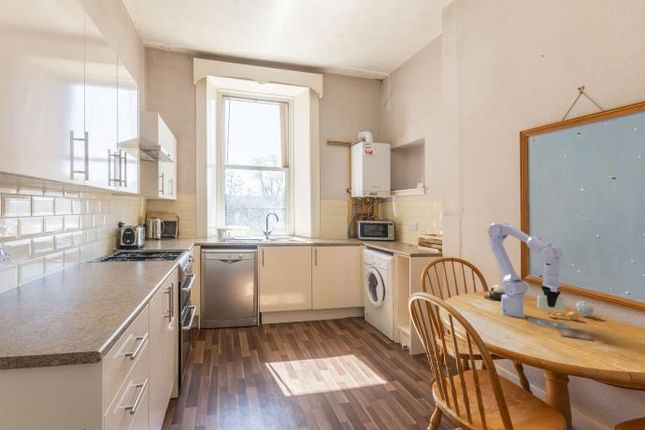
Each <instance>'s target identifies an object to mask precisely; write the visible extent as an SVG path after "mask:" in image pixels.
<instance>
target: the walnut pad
mask: <svg viewBox="0 0 645 430" xmlns="http://www.w3.org/2000/svg"><path fill="white" fill-rule="evenodd" d="M555 329H556V331H557V332H558V333H559V335H560V336H561V337H565V338H570V339H577V340H582V341H583V340H584V341H591V342H594V338H593V337H592V336H591V335H590V334H589V332H587V331H586V330H579V329H572V328H569V329H567V328H559V327H556V328H555Z"/></svg>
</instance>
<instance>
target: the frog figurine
mask: <svg viewBox="0 0 645 430" xmlns="http://www.w3.org/2000/svg"><path fill="white" fill-rule="evenodd" d="M575 306H576V307H575V308H576V309H577V311H578V312H577V313H578V314H579V316H581V317H583V318H589V317H590V316H592V313H594V308H593V307H592V306H591V305H590V304H588V303H587V302H586V301H583V300H582V301H581V300H580V301H578V302H576V303H575Z"/></svg>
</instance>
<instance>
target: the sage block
mask: <svg viewBox="0 0 645 430" xmlns="http://www.w3.org/2000/svg"><path fill="white" fill-rule="evenodd" d="M536 306H537V307H536V308H538V309H540V310H548V311H557V312H562V313H563V312H565V299H564V298H563V297H562V296H558V298H557V300H556V304H555V307H549V306H548V302H547V296H546V295H544V294H536Z"/></svg>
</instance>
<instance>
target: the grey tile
mask: <svg viewBox="0 0 645 430" xmlns="http://www.w3.org/2000/svg"><path fill="white" fill-rule="evenodd" d="M527 319H528V322H529V324H530V325H532V326H533V325H535V326H541V327H542V326H543V327H547V328H553V329H556V327H559V328H567V329H570V328H569V326H568V325H567V324H566V322H561V321H553V320H546V319H540V318H532V317H527Z"/></svg>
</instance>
